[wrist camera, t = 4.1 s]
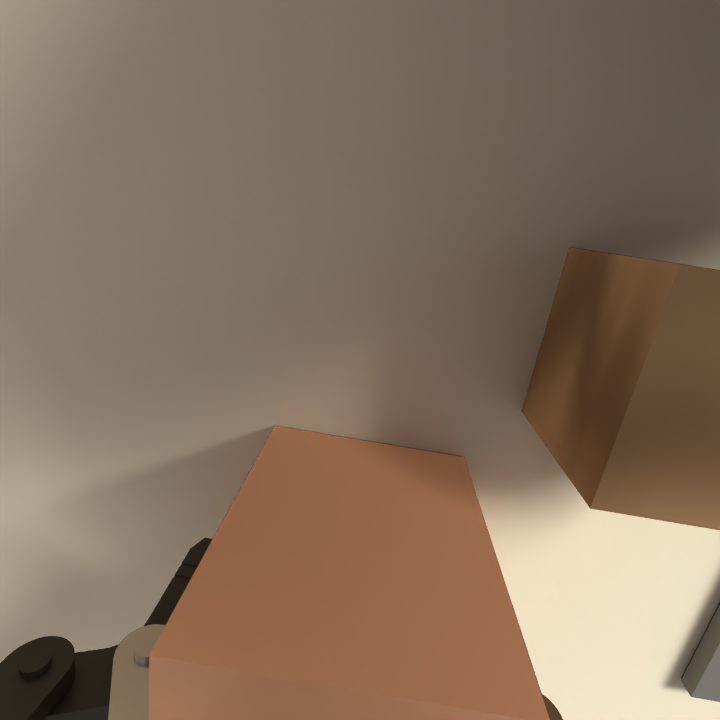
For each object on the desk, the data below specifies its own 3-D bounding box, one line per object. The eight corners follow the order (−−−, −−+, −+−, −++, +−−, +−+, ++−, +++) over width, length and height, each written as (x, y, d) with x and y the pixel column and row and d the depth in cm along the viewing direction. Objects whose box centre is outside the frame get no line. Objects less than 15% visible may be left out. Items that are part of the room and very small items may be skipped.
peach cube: (274, 425, 14) (149, 655, 7) (464, 457, 14) (551, 724, 7) (258, 577, 16) (146, 890, 9) (426, 605, 16) (461, 946, 9)
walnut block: (568, 247, 12) (680, 263, 8) (746, 276, 12) (971, 311, 8) (520, 409, 14) (590, 508, 9) (679, 436, 14) (831, 548, 9)
